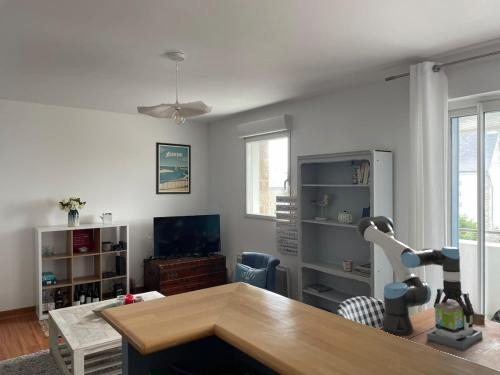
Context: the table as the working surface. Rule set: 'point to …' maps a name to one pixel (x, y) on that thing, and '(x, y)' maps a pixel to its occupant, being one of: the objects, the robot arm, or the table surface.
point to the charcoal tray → (456, 344)
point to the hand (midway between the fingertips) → (454, 326)
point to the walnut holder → (478, 318)
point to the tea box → (451, 320)
